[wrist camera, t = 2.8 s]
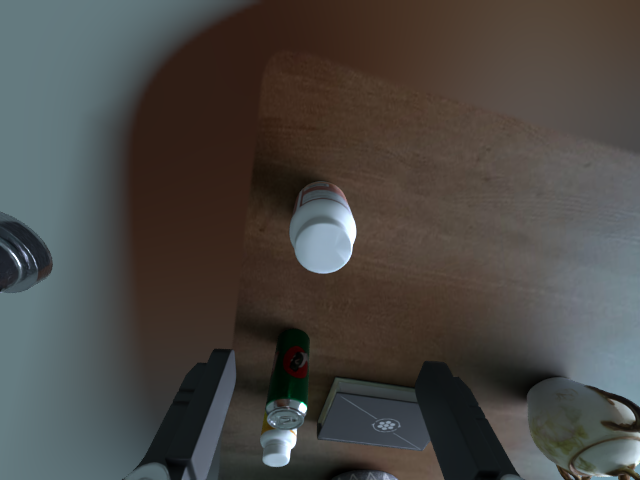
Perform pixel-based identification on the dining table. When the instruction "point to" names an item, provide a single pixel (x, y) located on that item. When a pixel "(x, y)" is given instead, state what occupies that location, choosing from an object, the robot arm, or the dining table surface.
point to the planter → (365, 475)
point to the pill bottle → (322, 228)
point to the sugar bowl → (584, 429)
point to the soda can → (289, 381)
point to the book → (372, 415)
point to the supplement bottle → (276, 444)
